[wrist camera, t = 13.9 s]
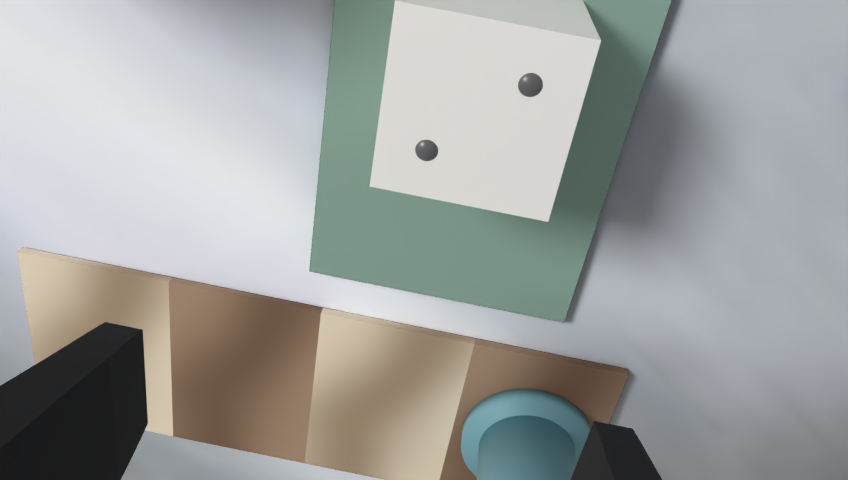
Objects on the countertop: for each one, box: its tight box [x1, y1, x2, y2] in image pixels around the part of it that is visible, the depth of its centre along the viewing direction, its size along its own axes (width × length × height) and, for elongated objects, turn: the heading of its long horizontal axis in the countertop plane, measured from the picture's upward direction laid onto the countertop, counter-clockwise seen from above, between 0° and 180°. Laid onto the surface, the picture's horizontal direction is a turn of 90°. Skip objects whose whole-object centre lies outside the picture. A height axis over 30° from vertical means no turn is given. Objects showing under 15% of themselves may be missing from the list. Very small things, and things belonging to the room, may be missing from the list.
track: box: [17, 247, 629, 480], centre depth 24 cm, size 20×7×1 cm, turn 81°
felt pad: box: [309, 0, 671, 322], centre depth 19 cm, size 8×10×1 cm
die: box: [369, 0, 601, 222], centre depth 16 cm, size 4×4×4 cm
